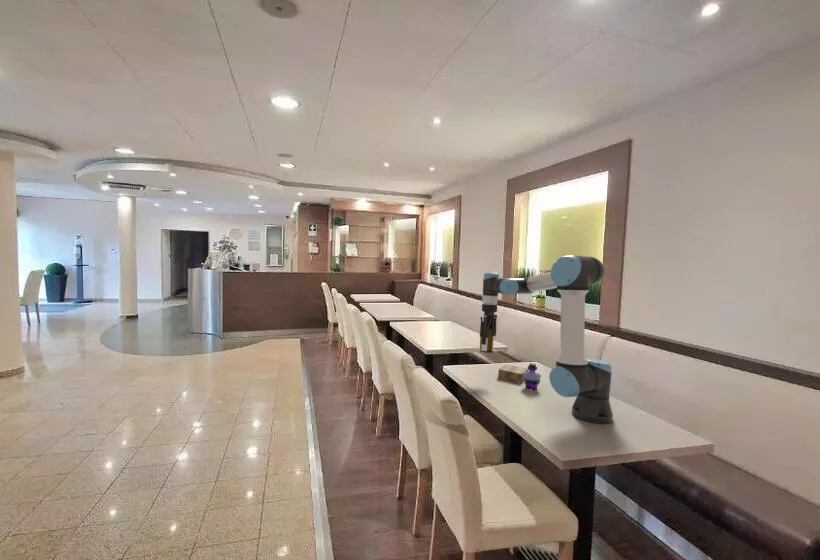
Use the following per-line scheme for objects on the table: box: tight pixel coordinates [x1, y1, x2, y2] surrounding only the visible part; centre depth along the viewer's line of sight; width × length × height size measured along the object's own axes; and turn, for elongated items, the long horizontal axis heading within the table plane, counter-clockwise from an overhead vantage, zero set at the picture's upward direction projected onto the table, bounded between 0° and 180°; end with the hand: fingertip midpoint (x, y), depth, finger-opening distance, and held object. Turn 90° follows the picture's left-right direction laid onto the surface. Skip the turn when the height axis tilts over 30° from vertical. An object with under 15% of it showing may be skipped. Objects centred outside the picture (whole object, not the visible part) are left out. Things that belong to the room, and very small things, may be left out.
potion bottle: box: [523, 362, 542, 390], centre depth 190 cm, size 9×9×12 cm
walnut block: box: [497, 364, 529, 384], centre depth 205 cm, size 12×12×5 cm
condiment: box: [478, 327, 498, 354], centre depth 196 cm, size 7×8×12 cm
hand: (487, 349), depth 197 cm, fingers closed on condiment, 6 cm apart
